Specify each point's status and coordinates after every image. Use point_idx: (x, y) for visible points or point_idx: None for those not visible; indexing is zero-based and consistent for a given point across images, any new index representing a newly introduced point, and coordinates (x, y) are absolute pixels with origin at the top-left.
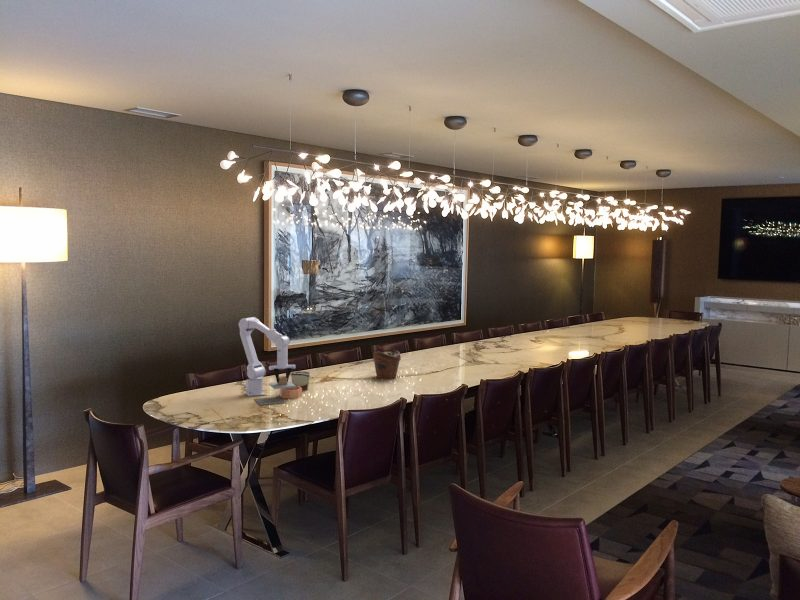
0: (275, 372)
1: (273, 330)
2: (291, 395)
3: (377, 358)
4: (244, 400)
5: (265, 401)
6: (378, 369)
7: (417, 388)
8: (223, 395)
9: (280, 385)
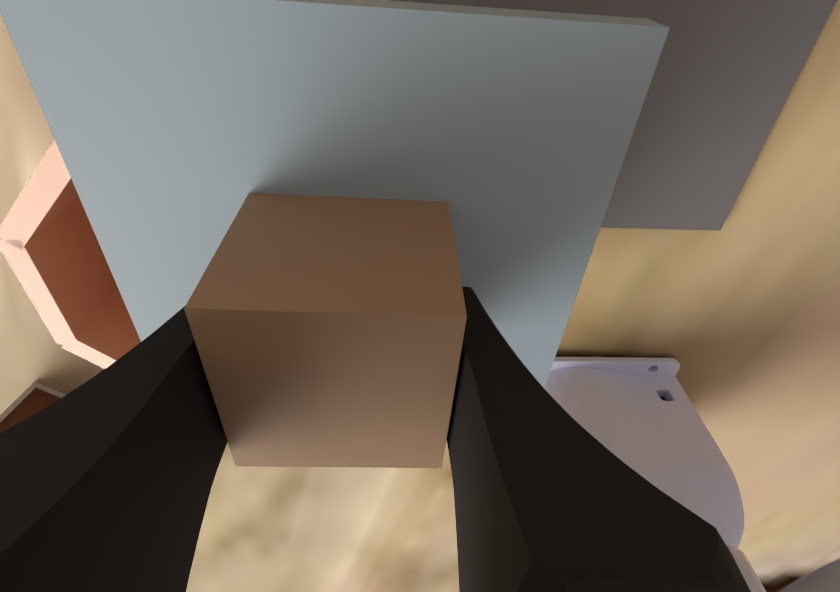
0: (697, 519)
1: None
2: None
3: None
4: (831, 226)
5: (700, 9)
6: None
7: None
8: (817, 435)
9: (428, 179)
